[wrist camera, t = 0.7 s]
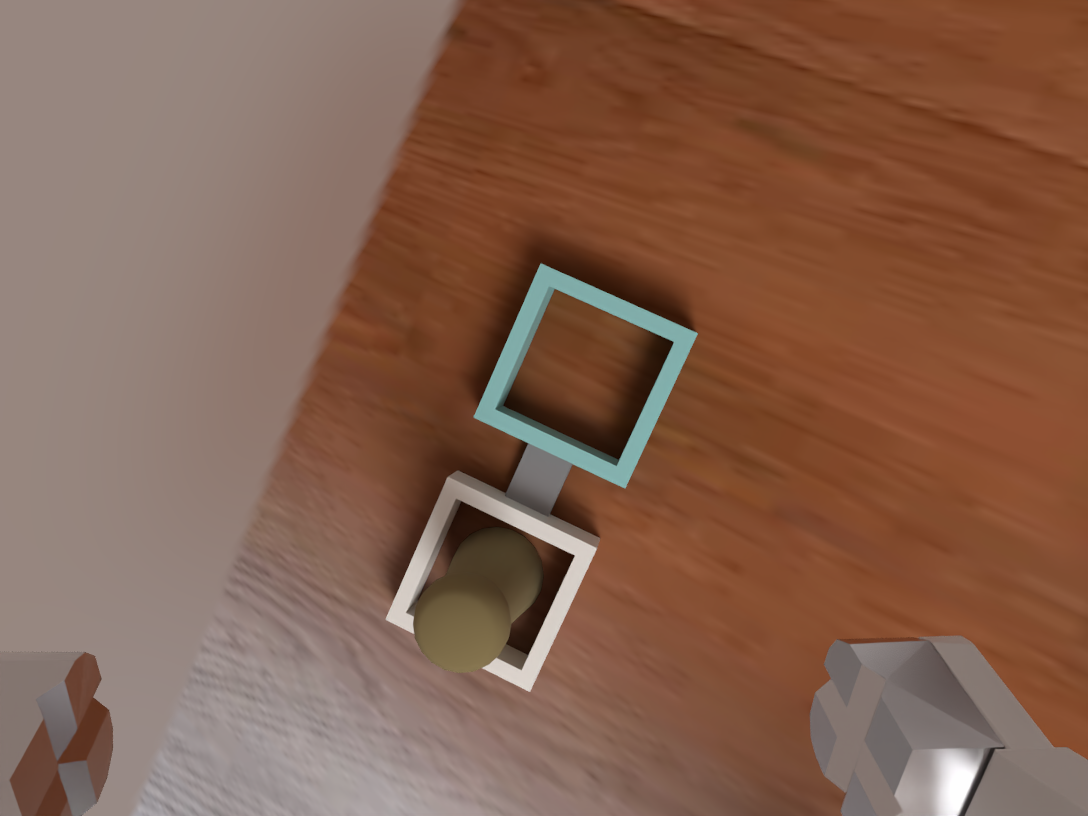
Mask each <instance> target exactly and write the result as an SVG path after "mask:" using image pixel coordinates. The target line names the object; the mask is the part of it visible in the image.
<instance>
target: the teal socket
mask: <svg viewBox="0 0 1088 816" xmlns="http://www.w3.org/2000/svg"><path fill="white" fill-rule="evenodd" d="M554 289H557V290H559V291H561V292H564V293H566V294H568V295H570V296H573V297H575V298H577V299H579V300H582V301H584V302H586V303H588V304H590V305H593V306H595V307H597V308H599V309H602V310H604V311H606V312H608V313H611V314H613V315H615V316H617V317H620V318H622V319H624V320H626V321H628V322H631V323H633V324H635V325H637V326H640V327H642V328H644V329H646V330H649V331H651V332H653V333H655V334H658V335H660V336H662V337H664V338H666V339H669V340H671V341H673V342H674V343H673V345H672V347H671V349H670V352H669V354H668V356H667V358H666V360H665V362H664V364H663V367H662V369H661V371H660V373H659V375H658V377H657V379H656V382H655V384H654V386H653V388H652V390H651V392H650V395H649V397H648V399H647V401H646V403H645V405H644V407H643V410H642V412H641V414H640V416H639V418H638V420H637V422H636V425H635V427H634V429H633V431H632V433H631V435H630V438H629V440H628V442H627V444H626V446H625V448H624V450H623V453H622V455H621V457H620V459H619V460H618V459H616V458H614V457H612V456H609V455H607V454H605V453H603V452H601V451H599V450H597V449H594V448H592V447H590V446H588V445H586V444H584V443H582V442H579V441H577V440H575V439H573V438H571V437H569V436H566V435H564V434H562V433H560V432H558V431H556V430H554V429H551V428H549V427H547V426H545V425H543V424H541V423H539V422H536V421H534V420H532V419H530V418H528V417H526V416H524V415H521V414H519V413H517V412H515V411H513V410H511V409H508V408H506V407H504V406H503V405H504V403H505V400H506V398H507V396H508V394H509V391H510V389H511V387H512V385H513V382H514V380H515V378H516V375H517V373H518V371H519V369H520V366H521V364H522V362H523V360H524V357H525V355H526V353H527V350H528V348H529V346H530V344H531V341H532V339H533V337H534V335H535V332H536V330H537V328H538V325H539V323H540V321H541V319H542V316H543V314H544V312H545V310H546V307H547V305H548V303H549V300H550V298H551V296H552V294H553V291H554ZM697 334H698V333H696V332H694V331H692V330H689V329H687V328H685V327H683V326H680V325H678V324H676V323H674V322H671V321H669V320H667V319H665V318H662V317H660V316H658V315H656V314H653V313H651V312H649V311H647V310H644V309H642V308H640V307H638V306H635V305H633V304H631V303H629V302H626V301H624V300H622V299H620V298H617V297H615V296H613V295H611V294H608V293H606V292H604V291H602V290H599V289H597V288H595V287H593V286H590V285H588V284H586V283H584V282H581V281H579V280H577V279H575V278H573V277H570V276H568V275H566V274H564V273H561V272H559V271H557V270H555V269H552V268H550V267H548V266H546V265H543V264H540V266H539V268H538V271H537V273H536V275H535V277H534V280H533V282H532V284H531V287H530V289H529V291H528V294H527V296H526V298H525V300H524V303H523V305H522V307H521V310H520V312H519V314H518V316H517V319H516V321H515V323H514V326H513V328H512V330H511V333H510V335H509V337H508V339H507V342H506V344H505V346H504V349H503V351H502V353H501V356H500V358H499V360H498V362H497V365H496V367H495V369H494V372H493V374H492V376H491V379H490V381H489V383H488V385H487V388H486V390H485V392H484V395H483V397H482V399H481V401H480V404H479V406H478V408H477V411H476V413H475V415H474V418H476V419H478V420H480V421H482V422H484V423H486V424H489V425H491V426H493V427H495V428H497V429H499V430H501V431H504V432H506V433H508V434H510V435H512V436H514V437H516V438H518V439H521V440H523V441H525V442H527V443H529V444H531V445H533V446H536V447H538V448H540V449H542V450H544V451H546V452H548V453H550V454H553V455H555V456H557V457H559V458H561V459H563V460H565V461H568V462H570V463H572V464H574V465H576V466H578V467H580V468H582V469H585V470H587V471H589V472H591V473H593V474H595V475H597V476H600V477H602V478H604V479H606V480H608V481H610V482H612V483H614V484H617V485H619V486H621V487H623V488H626V486H627V483H628V481H629V479H630V477H631V475H632V473H633V471H634V468H635V466H636V464H637V462H638V460H639V458H640V456H641V454H642V451H643V449H644V447H645V445H646V443H647V441H648V439H649V436H650V434H651V432H652V430H653V428H654V426H655V424H656V422H657V419H658V417H659V415H660V413H661V411H662V409H663V407H664V404H665V402H666V400H667V398H668V396H669V394H670V392H671V390H672V387H673V385H674V383H675V381H676V379H677V377H678V375H679V372H680V370H681V368H682V366H683V364H684V362H685V360H686V358H687V355H688V353H689V351H690V349H691V347H692V345H693V343H694V340H695V338H696V336H697Z"/></svg>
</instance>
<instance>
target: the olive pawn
mask: <svg viewBox="0 0 1088 816" xmlns="http://www.w3.org/2000/svg"><path fill="white" fill-rule="evenodd" d="M543 577H544V574H543V567H542V561H541V559H540V557H539V555H538V553H537V551H536V549H535V547H534V546H533V545H532V544H531V543H530V542H529V541H528V540H527V539H526V538H525V537H524V536H522V535H520V534H519V533H517V532H515V531H513V530H511V529H506V528H501V527H491V528H483V529H481V530H479V531H476V532H474V533H472V534H470V535H469V536H468V537H467V538H466V539H465V540H464V541H463V542H462V543H461V544H460V545H459V547H458V549H457V551H456V553H455V555H454V557H453V559H452V561H451V564H450V566H449V568H448V571H447V573H446V575H445V576H444V577H442V578H439V579H437V580H436V581H435V582H434V583H432V584H431V585H430V586H429V587H428V588H427V589H426V590H425V591H424V592H423V593H422V595H421V597H420V599H419V601H418V603H417V605H416V608H415V614H414V620H413V628H414V635H415V639H416V641H417V643H418V645H419V647H420V649H421V651H422V653H423V654H424V655H425V656H426V657H427V658H428V659H429V660H430V661H431V662H432V663H434V664H435V665H437V666H439V667H441V668H442V669H444V670H448V671H452V672H456V673H464V672H473V671H476V670H478V669H480V668H483V667H485V666H487V665H489V664H490V663H491V662H492V661H493V660H494V659H496V658H497V657H498V656H499V655H500V654H501V652H502V650H503V648H504V646H505V644H506V643H507V641H508V638H509V635H510V629H511V623H513V622H514V621H515V620H516V619H517V618H518V617H519V616H520V615H521V614H522V613H524V612H525V611H526V610H527V609H528V608H529V607H530V606H531V605H532V604H533V603H534V602H535V601H536V599H537V597H538V595H539V593H540V591H541V589H542V583H543Z"/></svg>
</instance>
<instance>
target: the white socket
mask: <svg viewBox="0 0 1088 816" xmlns="http://www.w3.org/2000/svg"><path fill="white" fill-rule="evenodd" d="M572 465H573V464H572V463H570V462H568V461H565V460H563V459H561V458H559V457H557V456H555V455H553V454H550V453H548V452H546V451H544V450H542V449H540V448H538V447H536V446H533V445H531V444H529V443H528V445H527V447H526V450H525V452H524V454H523V456H522V459H521V461H520V463H519V465H518V468H517V470H516V472H515V474H514V477H513V479H512V481H511V483H510V485H509V488H508V490H507V492H506V493H504V492H502V491H500V490H498V489H496V488H494V487H492V486H490V485H488V484H486V483H483V482H481V481H479V480H477V479H475V478H473V477H471V476H469V475H467V474H465V473H462V472H460V471H456V472H454V473H453V474H451V475H450V476H448V477H447V480H446V482H445V484H444V486H443V489H442V491H441V493H440V496H439V498H438V500H437V503H436V505H435V507H434V509H433V512H432V514H431V516H430V519H429V521H428V523H427V526H426V528H425V530H424V532H423V535H422V537H421V539H420V542H419V544H418V546H417V548H416V551H415V553H414V555H413V558H412V560H411V562H410V565H409V567H408V569H407V571H406V574H405V576H404V578H403V581H402V583H401V585H400V588H399V590H398V592H397V594H396V597H395V599H394V601H393V604H392V606H391V608H390V611H389V613H388V615H387V617H386V620H387V621H389V622H391V623H393V624H395V625H397V626H399V627H401V628H403V629H405V630H407V631H409V632H411V633H413V634H414V628H413V620H414V614H415V608H416V605H417V603H418V598H419V596H420V594H421V591H422V589H423V587H424V585H425V582H426V580H427V578H428V576H429V573H430V571H431V569H432V566H433V564H434V562H435V560H436V557H437V555H438V553H439V551H440V548H441V546H442V544H443V541H444V539H445V537H446V535H447V532H448V530H449V528H450V526H451V523H452V521H453V519H454V516H455V514H456V512H457V510H458V507H459V505H460V503H461V501H462V502H464V503H467V504H469V505H471V506H473V507H475V508H477V509H479V510H481V511H483V512H485V513H487V514H489V515H492V516H494V517H496V518H498V519H500V520H502V521H504V522H506V523H508V524H510V525H512V526H514V527H516V528H519V529H521V530H523V531H525V532H527V533H529V534H531V535H533V536H535V537H537V538H539V539H541V540H544V541H546V542H548V543H550V544H552V545H554V546H556V547H558V548H560V549H562V550H564V551H566V552H569V553H571V554H573V555H575V556H574V558H573V560H572V562H571V564H570V566H569V569H568V571H567V573H566V575H565V577H564V579H563V581H562V584H561V586H560V588H559V590H558V592H557V594H556V597H555V599H554V601H553V603H552V605H551V607H550V609H549V612H548V614H547V616H546V618H545V620H544V622H543V624H542V627H541V629H540V631H539V633H538V635H537V637H536V640H535V642H534V644H533V646H532V648H531V650H530V652H529V655H527V654H525V653H523V652H521V651H519V650H517V649H515V648H513V647H511V646H509V645H507V644H505V646H504V648H503V650H502V652H501V654H500V655H499V656H498V657H497V658H496V659H494V660H493V661H492V662H491V663H490V664H489V665H487V666H485V667H483V669H485V670H487V671H489V672H491V673H493V674H495V675H497V676H499V677H501V678H503V679H505V680H507V681H509V682H511V683H513V684H515V685H517V686H519V687H521V688H523V689H525V690H527V691H529V692H530V690H531V688H532V686H533V684H534V682H535V680H536V677H537V675H538V673H539V671H540V669H541V667H542V665H543V663H544V660H545V658H546V656H547V654H548V652H549V650H550V648H551V645H552V643H553V641H554V639H555V637H556V635H557V633H558V631H559V628H560V626H561V624H562V622H563V620H564V618H565V616H566V613H567V611H568V609H569V607H570V605H571V603H572V601H573V599H574V596H575V594H576V592H577V590H578V588H579V586H580V584H581V581H582V579H583V577H584V575H585V573H586V571H587V569H588V567H589V564H590V562H591V560H592V558H593V556H594V554H595V552H596V549H597V547H598V544H599V541H600V538H599V537H597V536H595V535H593V534H590V533H588V532H586V531H584V530H582V529H580V528H578V527H576V526H574V525H572V524H569V523H567V522H565V521H563V520H561V519H559V518H557V517H555V516H553V515H551V514H550V513H551V511H552V508H553V506H554V504H555V502H556V500H557V497H558V495H559V493H560V491H561V489H562V487H563V484H564V482H565V480H566V478H567V476H568V473H569V471H570V469H571V467H572Z"/></svg>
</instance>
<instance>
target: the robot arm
mask: <svg viewBox="0 0 1088 816" xmlns="http://www.w3.org/2000/svg"><path fill="white" fill-rule="evenodd" d="M824 665H825V667H826V669H827V671H828V673H829V675H830V677H831V680H829V681H828V682H827V683H826V684H825V685H824V686H822V687H821V688H820V689H819V690H818V691H817V692H815V696H814V700H813V704H812V708H811V712H810V728H811V740H812V744H813V747H814V751H815V755H816V758H817V760H818V762H819V765H820V767H821V769H822V772H823V774H824V776H825V777H826V778H828V779H829V780H830V781H831V782H833V783H834V784H835V785H836V786H838V787H839V788H840V789H841V790H843V791H844V792H845V796H844V800H843V804H842V807H841V813H842V815H843V816H1088V760H1087V759H1085V758H1084V757H1082V756H1080V755H1079V754H1077V753H1075V752H1074V751H1072V750H1071V749H1069V748H1067V747H1053V746H1052V744H1051V743H1050V742H1049V740H1048V739H1047V738H1046V737H1045V735H1044V734H1043V733H1042V731H1041V730H1040V729H1039V728H1038V726H1037V725H1036V724H1035V722H1034V721H1033V720H1032V719H1031V717H1030V716H1029V715H1028V713H1027V712H1026V711H1025V710H1024V708H1023V707H1022V706H1021V704H1020V703H1019V702H1018V701H1017V699H1016V698H1015V697H1014V695H1013V694H1012V693H1011V692H1010V690H1009V689H1008V688H1007V686H1006V685H1005V684H1004V683H1003V681H1002V680H1001V679H1000V677H999V676H998V675H997V674H996V672H995V671H994V670H993V668H992V667H991V666H990V665H989V663H988V662H987V661H986V659H985V658H984V657H983V656H982V654H981V653H980V652H979V650H978V649H977V648H976V647H975V645H974V644H973V643H972V642H971V641H969V640H967V639H966V638H964V637H962V636H933V637H919V638H914V637H907V638H869V639H837V640H836V641H835V642H834V643H833V645H832V646H831V647H830V648H829V651H828V654H827V657H826V660H825V663H824ZM100 681H101V675H100V672H99V669H98V665H97V662H96V658H95V656H94V655H91V654H89V653H86V652H0V816H82V815H83V814H84V813H86V811H88V810H89V809H90V808H91V807H93V806H94V805H95V804H96V803H97V802H98V799H99V797H100V794H101V792H102V789H103V787H104V784H105V782H106V779H107V776H108V770H109V766H110V761H111V756H112V751H113V727H112V722H111V717H110V713H109V710H108V709H107V708H106V707H105V706H103V705H102V704H101V703H100V702H98V701H97V700H96V699H94V698H93V696H94V694H95V692H96V690H97V688H98V685H99V683H100Z"/></svg>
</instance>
